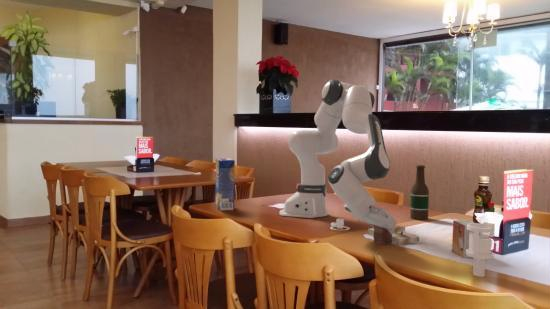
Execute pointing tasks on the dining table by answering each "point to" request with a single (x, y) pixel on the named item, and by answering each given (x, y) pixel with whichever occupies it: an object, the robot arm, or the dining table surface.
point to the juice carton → (225, 184)
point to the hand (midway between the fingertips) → (384, 230)
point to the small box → (461, 237)
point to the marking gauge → (385, 234)
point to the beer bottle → (419, 196)
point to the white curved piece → (339, 224)
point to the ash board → (400, 237)
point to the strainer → (480, 246)
